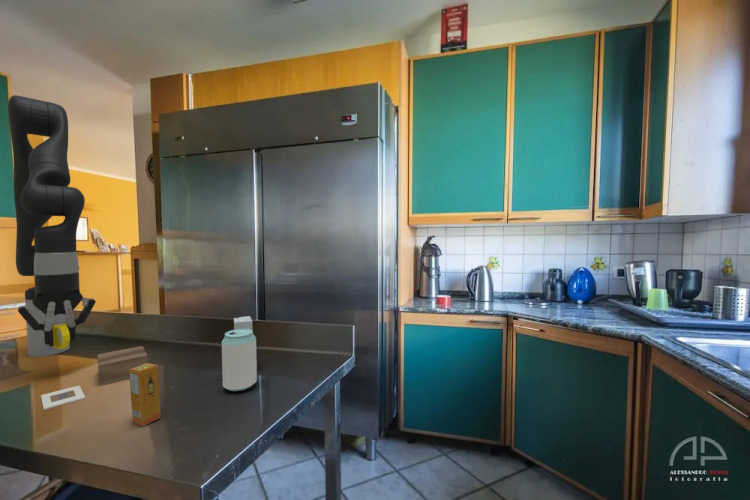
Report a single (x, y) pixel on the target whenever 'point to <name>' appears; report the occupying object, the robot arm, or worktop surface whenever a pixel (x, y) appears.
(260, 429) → the worktop surface
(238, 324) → the skincare box
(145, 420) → the supplement box
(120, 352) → the walnut block
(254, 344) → the can
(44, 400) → the card
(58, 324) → the watch
